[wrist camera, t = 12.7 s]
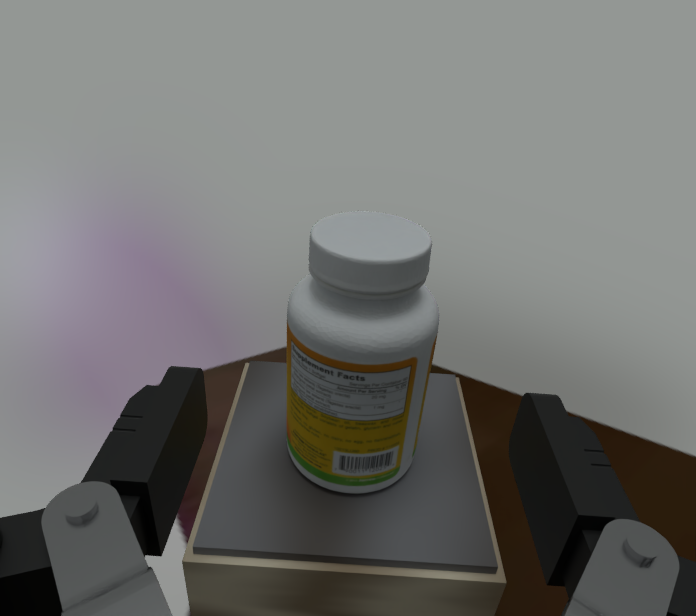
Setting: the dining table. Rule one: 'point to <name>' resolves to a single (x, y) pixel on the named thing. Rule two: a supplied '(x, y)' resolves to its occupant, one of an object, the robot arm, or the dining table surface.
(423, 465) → the plinth
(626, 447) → the dining table surface
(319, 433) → the supplement bottle
